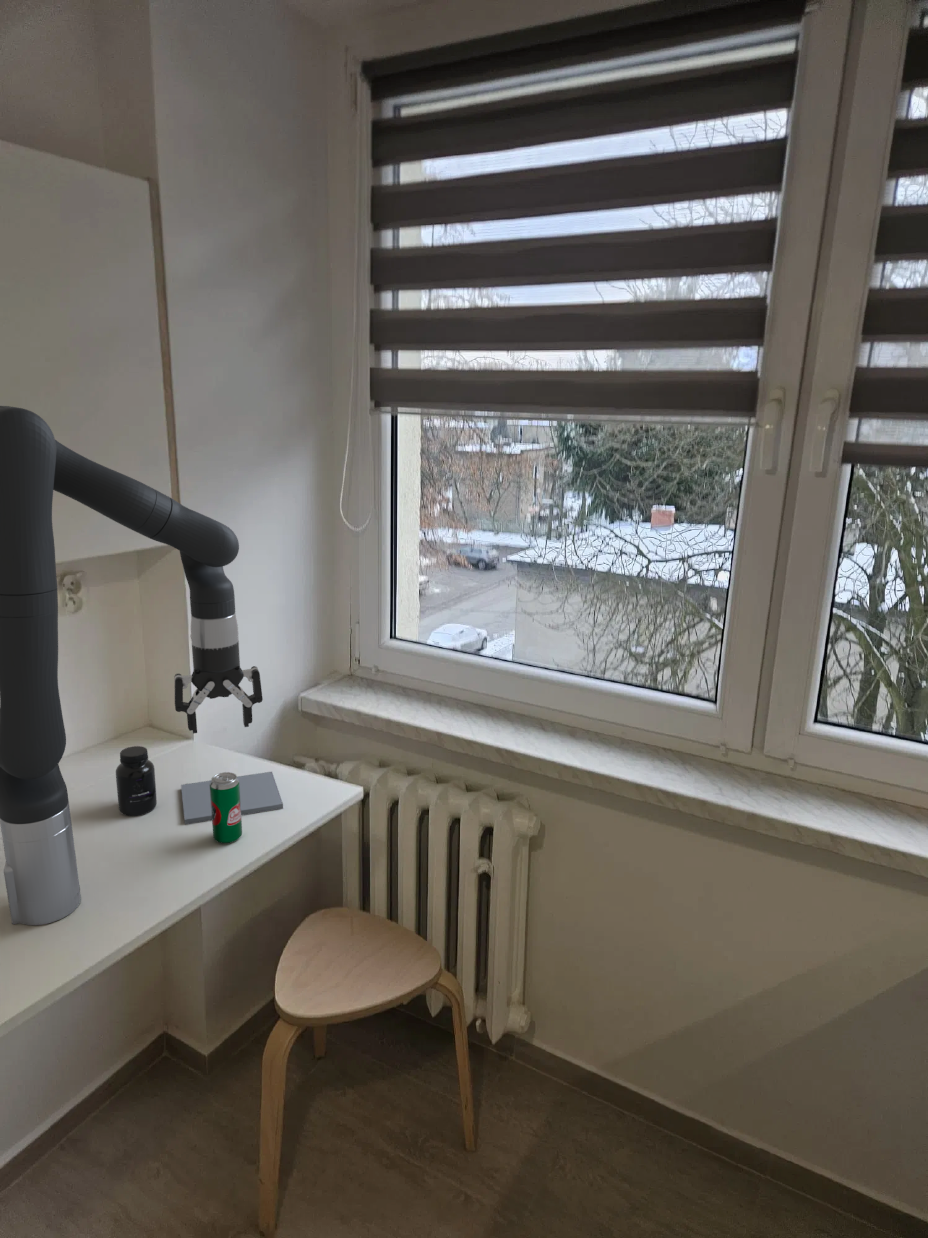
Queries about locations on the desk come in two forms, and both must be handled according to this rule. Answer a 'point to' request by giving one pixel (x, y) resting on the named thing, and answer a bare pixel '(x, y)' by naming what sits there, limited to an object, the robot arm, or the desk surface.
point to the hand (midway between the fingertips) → (220, 728)
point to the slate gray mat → (254, 797)
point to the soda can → (226, 807)
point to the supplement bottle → (135, 782)
